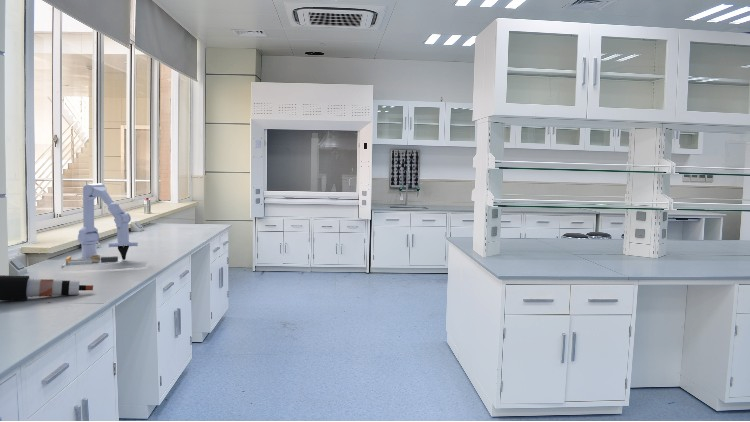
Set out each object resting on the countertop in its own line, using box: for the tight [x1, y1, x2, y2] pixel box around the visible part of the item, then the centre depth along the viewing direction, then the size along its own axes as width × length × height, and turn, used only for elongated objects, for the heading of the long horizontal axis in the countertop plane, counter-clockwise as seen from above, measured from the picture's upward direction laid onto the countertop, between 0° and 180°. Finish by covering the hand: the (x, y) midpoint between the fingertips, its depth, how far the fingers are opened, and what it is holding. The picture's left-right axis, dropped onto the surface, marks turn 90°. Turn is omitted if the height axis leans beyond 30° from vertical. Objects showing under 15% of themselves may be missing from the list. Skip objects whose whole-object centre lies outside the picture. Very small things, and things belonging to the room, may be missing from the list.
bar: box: [100, 255, 119, 262], centre depth 287 cm, size 2×8×2 cm, turn 108°
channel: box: [61, 255, 123, 268], centre depth 285 cm, size 11×28×4 cm, turn 108°
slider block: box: [89, 254, 101, 262], centre depth 285 cm, size 3×4×4 cm
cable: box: [0, 274, 94, 302], centre depth 218 cm, size 10×34×10 cm, turn 115°
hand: (123, 259), depth 290 cm, fingers closed
